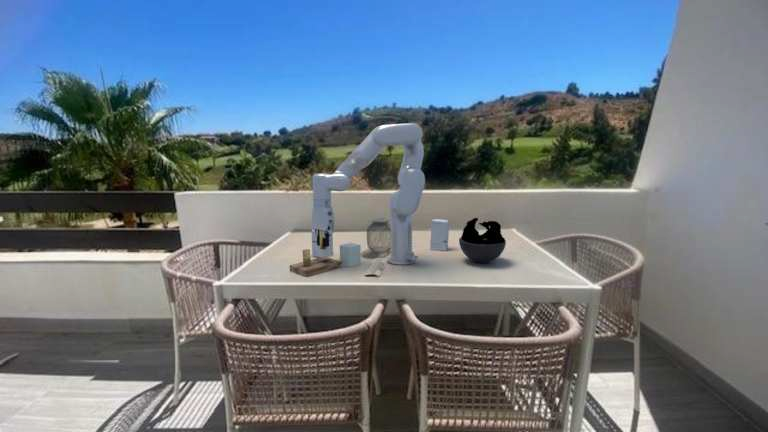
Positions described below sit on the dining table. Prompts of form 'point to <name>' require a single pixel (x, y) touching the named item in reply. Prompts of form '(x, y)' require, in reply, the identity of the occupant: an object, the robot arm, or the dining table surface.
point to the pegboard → (314, 265)
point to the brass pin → (321, 239)
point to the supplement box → (316, 249)
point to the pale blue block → (350, 254)
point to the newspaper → (376, 267)
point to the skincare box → (439, 234)
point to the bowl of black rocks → (482, 241)
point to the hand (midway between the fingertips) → (323, 245)
